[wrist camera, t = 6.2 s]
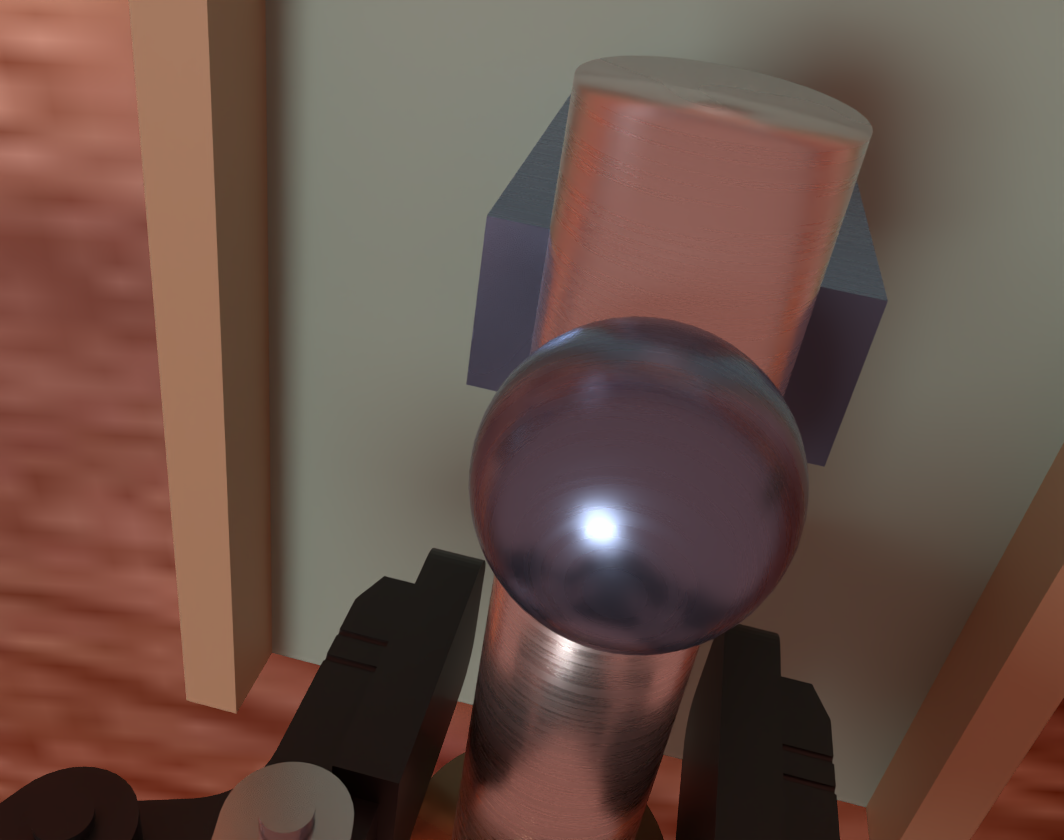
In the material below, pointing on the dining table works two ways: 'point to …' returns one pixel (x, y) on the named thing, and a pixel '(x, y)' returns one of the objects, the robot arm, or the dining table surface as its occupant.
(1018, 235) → the pitch board
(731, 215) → the rod
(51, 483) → the dining table surface
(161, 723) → the dining table surface
